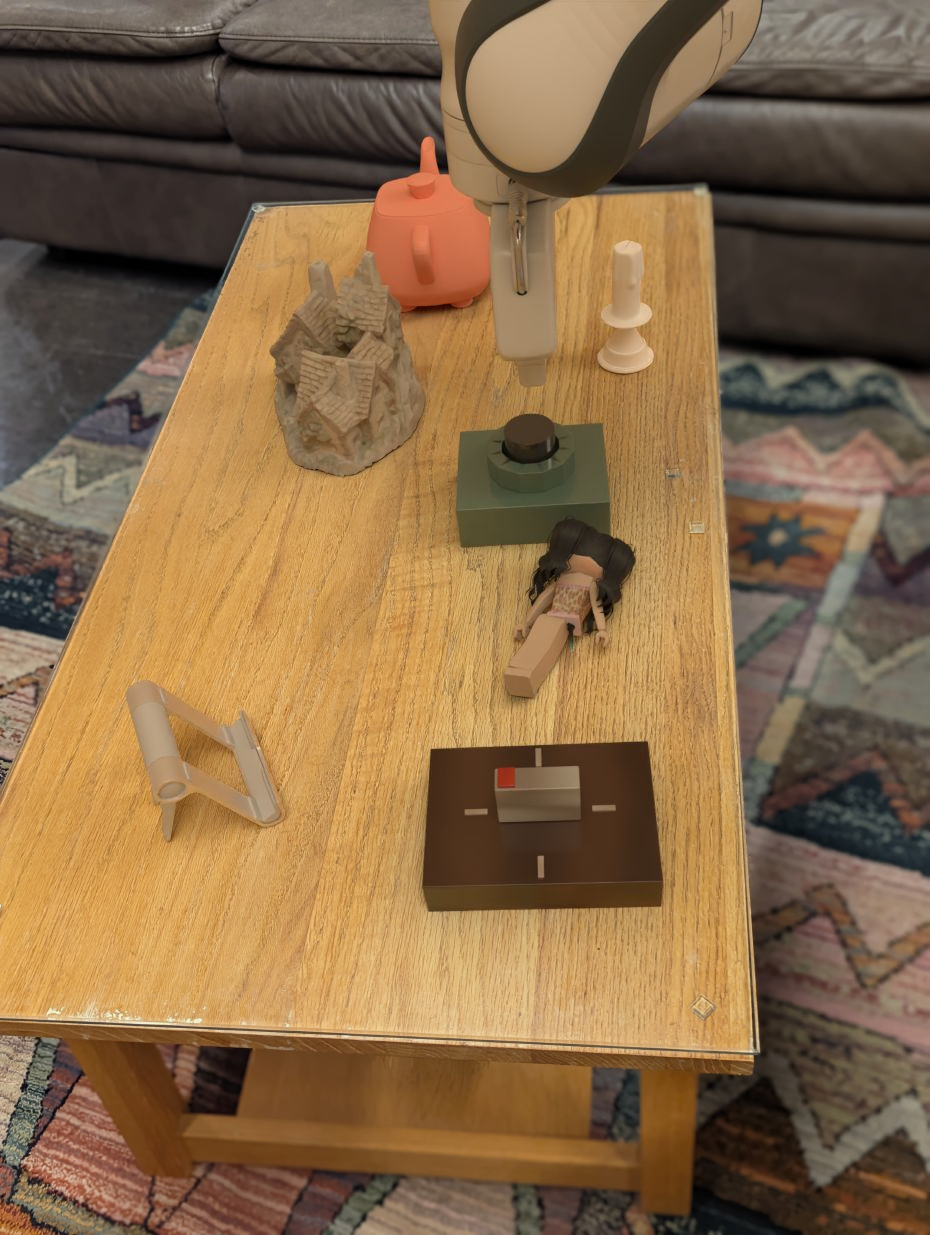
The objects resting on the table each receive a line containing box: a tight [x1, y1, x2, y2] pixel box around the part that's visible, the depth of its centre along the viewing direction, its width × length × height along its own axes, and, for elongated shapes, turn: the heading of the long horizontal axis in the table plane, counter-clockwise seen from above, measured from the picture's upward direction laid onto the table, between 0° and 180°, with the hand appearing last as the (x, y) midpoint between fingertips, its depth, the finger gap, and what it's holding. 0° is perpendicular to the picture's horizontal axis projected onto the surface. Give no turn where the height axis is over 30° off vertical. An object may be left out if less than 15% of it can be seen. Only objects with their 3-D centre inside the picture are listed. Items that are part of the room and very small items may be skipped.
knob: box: [504, 412, 556, 464], centre depth 85 cm, size 4×4×2 cm
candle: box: [596, 239, 655, 374], centre depth 98 cm, size 5×5×12 cm
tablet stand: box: [125, 679, 287, 842], centre depth 70 cm, size 9×8×8 cm
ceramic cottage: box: [269, 250, 426, 478], centre depth 96 cm, size 16×16×15 cm
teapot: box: [365, 136, 490, 313], centre depth 111 cm, size 13×20×12 cm, turn 178°
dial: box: [494, 766, 581, 822], centre depth 65 cm, size 5×2×4 cm, turn 88°
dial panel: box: [421, 740, 664, 912], centre depth 67 cm, size 14×10×3 cm
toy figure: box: [502, 515, 637, 699], centre depth 78 cm, size 7×6×15 cm
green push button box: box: [455, 421, 611, 548], centre depth 88 cm, size 12×10×6 cm
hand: (533, 341), depth 75 cm, fingers open, 8 cm apart
